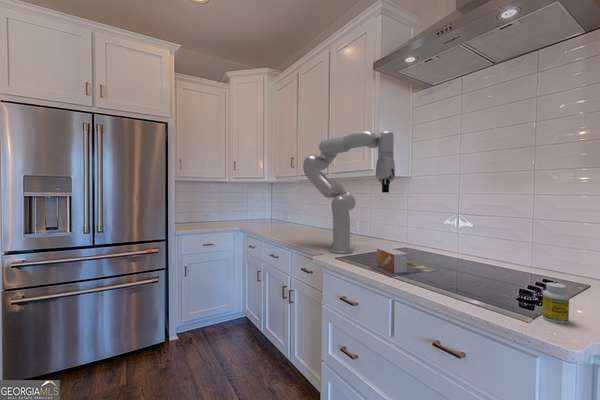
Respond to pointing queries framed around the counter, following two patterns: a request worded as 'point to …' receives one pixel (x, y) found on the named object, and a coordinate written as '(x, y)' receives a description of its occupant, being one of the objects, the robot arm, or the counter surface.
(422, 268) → the turner
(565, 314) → the supplement bottle
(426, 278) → the counter surface
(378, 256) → the small box
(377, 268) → the mat
